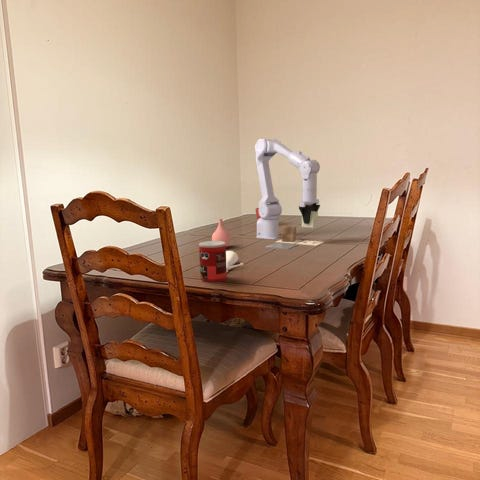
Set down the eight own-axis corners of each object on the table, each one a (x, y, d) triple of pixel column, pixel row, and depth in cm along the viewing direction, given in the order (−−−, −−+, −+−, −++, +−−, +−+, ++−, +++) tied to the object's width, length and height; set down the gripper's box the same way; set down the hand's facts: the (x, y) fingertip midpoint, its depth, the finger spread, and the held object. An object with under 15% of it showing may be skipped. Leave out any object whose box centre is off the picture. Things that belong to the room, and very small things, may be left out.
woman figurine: (246, 248, 154) (241, 264, 136) (247, 261, 155) (241, 277, 137) (213, 249, 155) (204, 264, 138) (214, 261, 156) (205, 277, 139)
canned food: (200, 276, 135) (198, 241, 133) (226, 275, 136) (225, 240, 134) (200, 283, 128) (198, 245, 126) (227, 281, 128) (226, 244, 126)
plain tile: (274, 242, 188) (274, 241, 188) (284, 239, 195) (284, 238, 195) (293, 244, 183) (293, 243, 183) (302, 240, 190) (302, 240, 190)
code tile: (295, 244, 182) (295, 243, 182) (305, 240, 190) (305, 240, 190) (315, 246, 178) (315, 245, 178) (324, 242, 185) (324, 241, 185)
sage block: (301, 226, 182) (301, 212, 180) (306, 225, 186) (306, 211, 185) (312, 227, 179) (312, 213, 178) (317, 226, 183) (317, 211, 182)
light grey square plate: (265, 248, 176) (265, 246, 176) (277, 243, 185) (277, 242, 184) (287, 250, 171) (287, 248, 171) (298, 245, 179) (298, 244, 179)
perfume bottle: (212, 246, 182) (211, 217, 180) (230, 246, 182) (230, 217, 180) (211, 250, 175) (210, 220, 173) (230, 249, 175) (229, 219, 173)
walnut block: (281, 241, 188) (281, 227, 187) (285, 239, 192) (285, 226, 191) (292, 242, 186) (292, 228, 185) (296, 240, 190) (296, 226, 189)
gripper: (311, 191, 171) (311, 225, 174) (325, 188, 183) (325, 220, 186) (295, 190, 175) (295, 224, 178) (310, 188, 187) (309, 220, 190)
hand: (309, 222), depth 182 cm, fingers closed on sage block, 5 cm apart
